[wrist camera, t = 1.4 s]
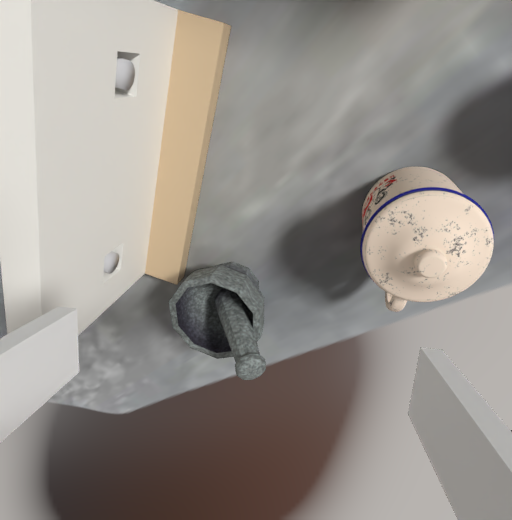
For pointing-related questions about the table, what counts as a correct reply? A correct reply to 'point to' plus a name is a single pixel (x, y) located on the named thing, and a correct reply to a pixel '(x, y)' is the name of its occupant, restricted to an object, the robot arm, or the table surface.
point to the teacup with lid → (423, 237)
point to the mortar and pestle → (222, 315)
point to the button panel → (100, 148)
